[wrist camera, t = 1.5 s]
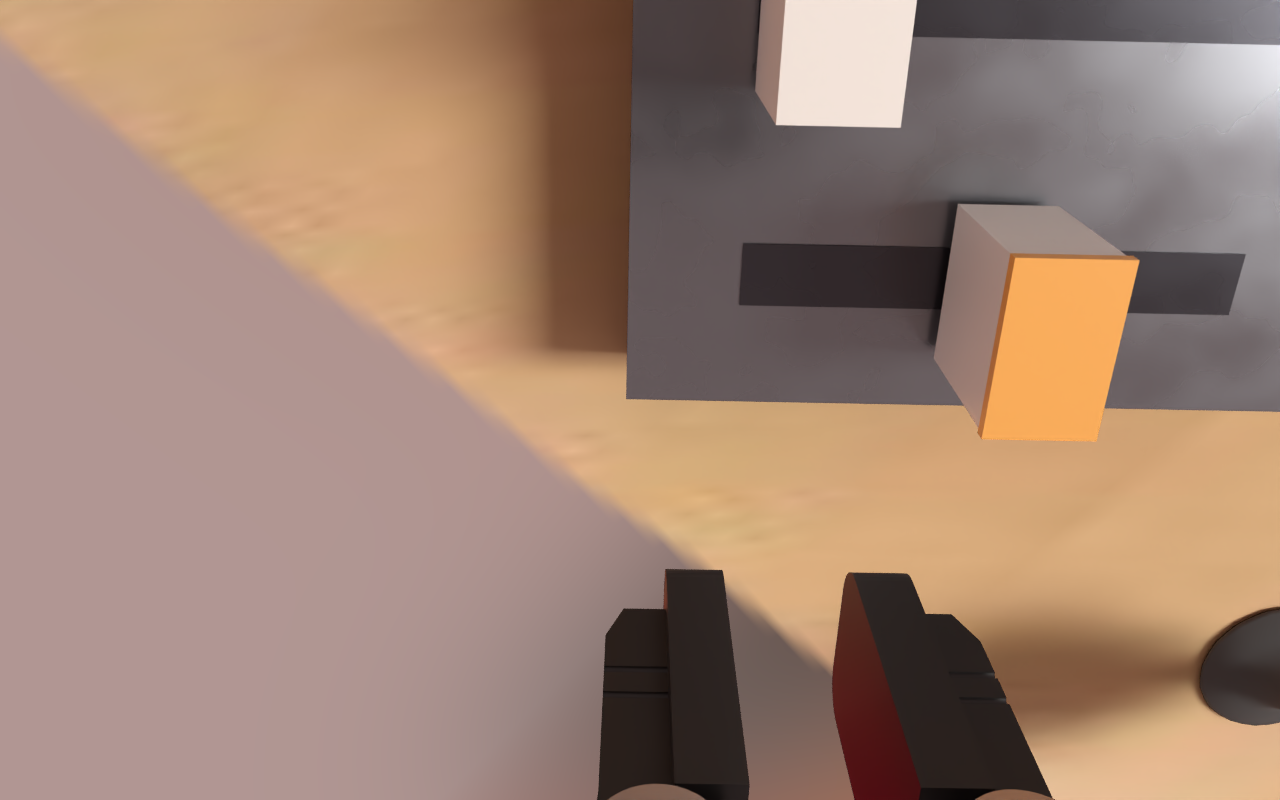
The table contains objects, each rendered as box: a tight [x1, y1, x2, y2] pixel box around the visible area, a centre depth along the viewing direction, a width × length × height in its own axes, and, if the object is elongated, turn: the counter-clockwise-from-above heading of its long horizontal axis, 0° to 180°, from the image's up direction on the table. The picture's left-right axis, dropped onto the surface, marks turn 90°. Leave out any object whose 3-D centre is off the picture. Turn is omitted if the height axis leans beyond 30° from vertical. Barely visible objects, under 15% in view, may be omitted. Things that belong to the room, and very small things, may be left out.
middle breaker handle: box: [755, 0, 917, 128], centre depth 21 cm, size 2×4×4 cm, turn 179°
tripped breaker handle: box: [934, 204, 1140, 441], centre depth 24 cm, size 2×4×4 cm, turn 179°
